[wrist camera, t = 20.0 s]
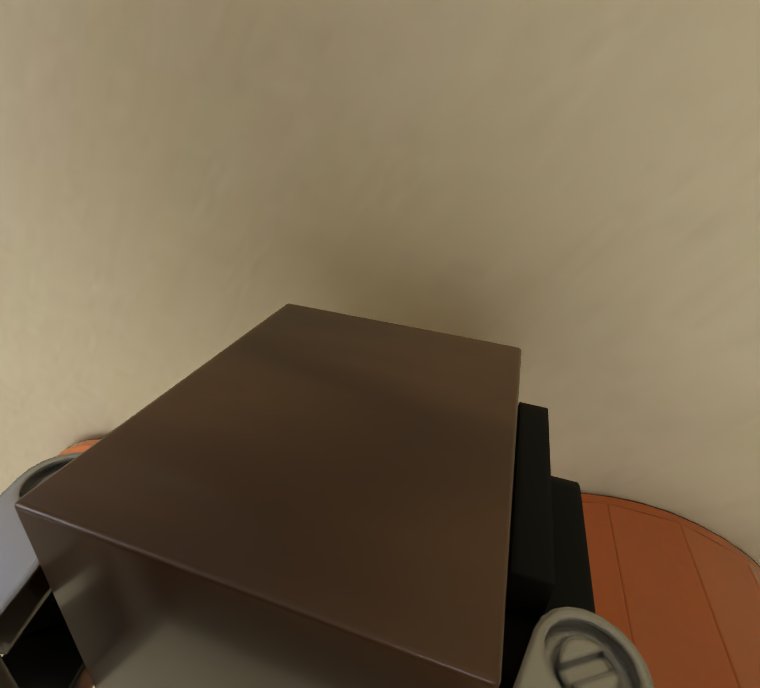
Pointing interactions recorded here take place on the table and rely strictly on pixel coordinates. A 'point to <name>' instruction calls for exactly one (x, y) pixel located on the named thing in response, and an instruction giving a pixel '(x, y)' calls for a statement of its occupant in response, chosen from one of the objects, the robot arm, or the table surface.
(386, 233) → the table surface
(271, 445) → the metal block
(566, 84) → the table surface
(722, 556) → the pan
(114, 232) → the table surface
